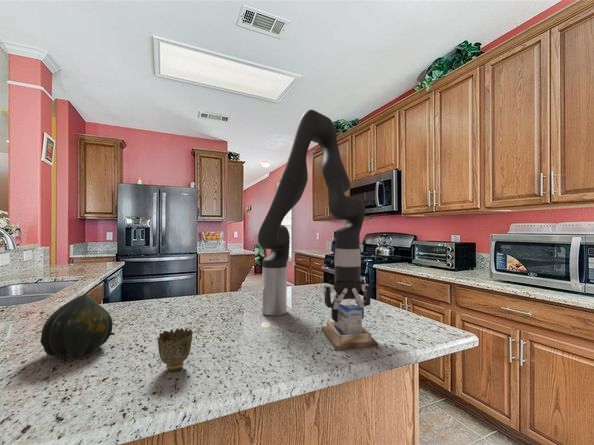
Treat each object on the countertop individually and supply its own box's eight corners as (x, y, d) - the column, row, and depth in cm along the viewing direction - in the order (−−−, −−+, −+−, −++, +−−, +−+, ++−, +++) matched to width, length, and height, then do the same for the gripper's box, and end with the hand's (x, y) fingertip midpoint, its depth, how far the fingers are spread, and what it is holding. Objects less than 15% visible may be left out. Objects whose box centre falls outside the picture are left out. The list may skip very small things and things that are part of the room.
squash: (38, 351, 61) (91, 290, 70) (16, 339, 69) (66, 286, 78) (94, 374, 69) (135, 317, 78) (69, 361, 77) (108, 311, 86)
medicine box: (334, 330, 86) (334, 301, 86) (346, 328, 87) (346, 300, 88) (349, 340, 78) (349, 308, 79) (362, 337, 80) (362, 306, 80)
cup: (164, 361, 68) (164, 327, 68) (196, 360, 69) (196, 327, 69) (151, 377, 61) (151, 340, 61) (186, 376, 61) (186, 339, 61)
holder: (335, 350, 74) (335, 338, 74) (321, 329, 89) (321, 320, 89) (378, 346, 76) (378, 335, 76) (357, 327, 91) (357, 318, 91)
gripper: (365, 261, 88) (365, 315, 88) (320, 262, 86) (320, 318, 85) (376, 265, 81) (376, 323, 80) (327, 266, 78) (327, 326, 78)
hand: (347, 320), depth 83 cm, fingers open, 6 cm apart
